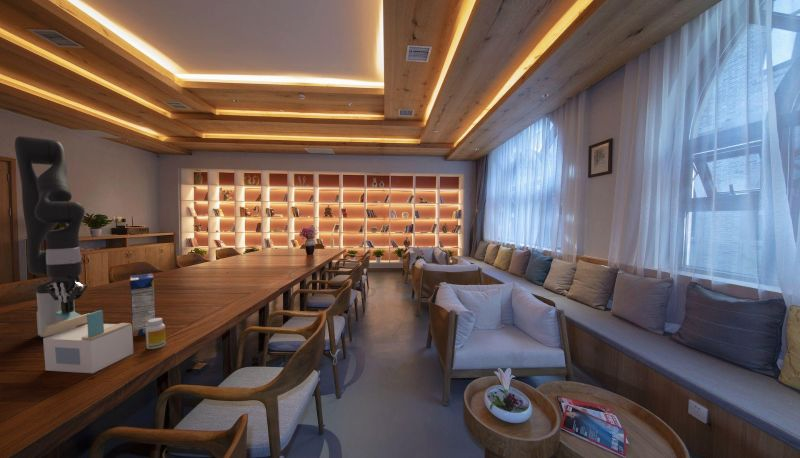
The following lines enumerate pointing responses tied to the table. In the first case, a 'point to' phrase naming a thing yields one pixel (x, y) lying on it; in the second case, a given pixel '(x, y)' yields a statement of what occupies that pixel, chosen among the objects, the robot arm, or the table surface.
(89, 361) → the carton
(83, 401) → the table surface
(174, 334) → the table surface
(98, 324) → the flap
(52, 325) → the flap
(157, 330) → the supplement bottle
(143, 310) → the beverage box
